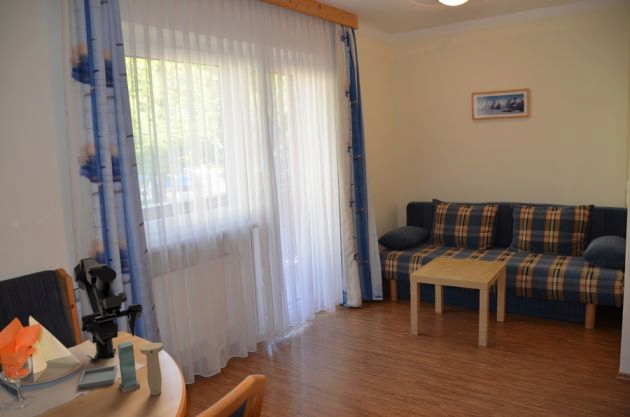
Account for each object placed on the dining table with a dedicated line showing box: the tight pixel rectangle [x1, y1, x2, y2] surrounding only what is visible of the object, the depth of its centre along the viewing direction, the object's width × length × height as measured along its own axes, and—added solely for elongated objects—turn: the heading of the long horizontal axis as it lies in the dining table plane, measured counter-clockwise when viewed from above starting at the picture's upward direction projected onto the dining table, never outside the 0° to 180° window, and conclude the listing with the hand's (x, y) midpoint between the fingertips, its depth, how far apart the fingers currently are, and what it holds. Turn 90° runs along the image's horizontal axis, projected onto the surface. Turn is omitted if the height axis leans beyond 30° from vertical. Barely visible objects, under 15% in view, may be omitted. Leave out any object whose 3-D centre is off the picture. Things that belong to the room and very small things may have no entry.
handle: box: [139, 342, 164, 396], centre depth 151 cm, size 5×6×15 cm
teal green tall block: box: [117, 340, 141, 393], centre depth 156 cm, size 5×5×14 cm
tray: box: [77, 364, 118, 390], centre depth 162 cm, size 10×10×2 cm
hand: (119, 339), depth 161 cm, fingers open, 9 cm apart
